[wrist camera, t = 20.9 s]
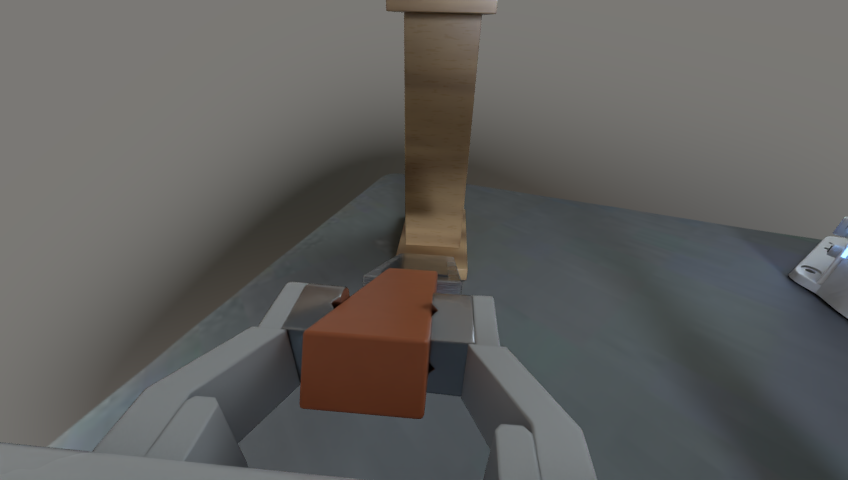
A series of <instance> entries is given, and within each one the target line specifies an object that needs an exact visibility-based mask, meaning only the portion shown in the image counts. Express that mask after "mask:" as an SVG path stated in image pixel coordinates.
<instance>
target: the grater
mask: <svg viewBox="0 0 848 480" xmlns="http://www.w3.org/2000/svg"><path fill="white" fill-rule="evenodd" d="M433 293H441V294H456V295H461V293H462V281H461V278H460V275H459V272H458V269H457V266H456V263H455V260H454V257H448V256H440V255H425V254H410V253H406V254H402V253H400V254H398V255H397V256H395V257H393V258H392V259H390V260H388V261H387V262H385V263H383V264H382V265H380V266H378V267H377V268H375V269H373V270H372V271H370V272H368V273H367V274H365V275H364V276H363V288H361V289H360V290H359V291H357V292H356V293H355V294H353V295H352V296H351V297H349V298H348V299H347V300H345V301H344V302H343V303H341V304H340V305H339V306H337V307H336V308H335V309H333V310H332V311H331V312H329V313H328V314H326V315H325V316H324V317H322V318H321V319H320V320H318V321H317V322H316V323H314V324H313V325H312V326H310V327H309V328H308V329H306V330H305V331H304V333H303V345H302V366H301V387H300V407H301V408H303V409H314V410H325V411H336V412H347V413H358V414H369V415H380V416H391V417H402V418H413V419H421V418H422V417H423V415H424V410H425V401H426V391H427V382H428V371H429V350H430V334H431V322H432V318H431V316H432V298H433Z"/></svg>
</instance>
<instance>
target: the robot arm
mask: <svg viewBox="0 0 848 480" xmlns="http://www.w3.org/2000/svg"><path fill="white" fill-rule="evenodd" d="M833 234H835V235H837V236H840V237H833V236H827V237H825V238H824V239H823V240H822V241H821V242H820V243H819V244H818V245H817V246H816V247H815V248H814V249H813V250H812V251H811V252H810V253H809V254H808V255H807V256H806V257H805V258H804V259H803V260H802V261H801V262H800V263H799V264H798V265H797V266H796V267H795V268H794V269H793V271H792V272H791V273H790V274H789V277H790V278H791V279H792V280H794V281H795V282H797V283H798V284H800V285H801V286H803V287H805V288H807V289H808V290H810V291H812V292H814V293H815V294H817V295H818V296H820V297H821V298H822V299H823V300H824V301H826V302H827V303H828V304H829V305H830V306H831V307H833V308H834V309H835V310H836V311H838V312H839V313H840V314H842V315H843V316H845V317H846V318H848V217H844V219H843V220H842V221H841V223H840V224H839V225H838V227H837V228H836V229H835V231H834V232H833ZM842 237H843V238H842ZM844 237H845V238H844ZM349 297H350V296H349V289H348V288H347V287H344V286H334V285H323V284H313V283H309V284H308V283H299V282H289V283H287V284H286V285H285V286H284V287H283V289H282V290H281V292H280V293H279V295H278V297H277V298H276V300H275V301H274V303H273V304H272V306H271V307H270V309H269V310H268V312H267V313H266V315H265V316H264V318H263V319H262V321H261V322H260V324H259V326H258V327H250V328H248V329H247V330H245V331H243V332H242V333H240V334H238V335H236V336H235V337H233V338H231V339H230V340H228V341H226V342H225V343H223V344H221V345H219V346H218V347H216V348H214V349H213V350H211V351H209V352H207V353H206V354H204V355H202V356H201V357H199V358H197V359H195V360H194V361H192V362H190V363H189V364H187V365H185V366H183V367H182V368H180V369H178V370H177V371H175V372H173V373H172V374H170V375H168V376H166V377H165V378H163V379H161V380H160V381H158V382H156V383H154V384H153V385H151V386H149V387H148V388H146V389H145V390H144V391H143V392H142V393H141V394H140V395H139V397H138V398H137V399H136V400H135V401H134V403H133V404H132V405H131V406H130V407H129V408H128V410H127V411H126V412H125V413H124V414H123V416H122V417H121V418H120V419H119V420H118V421H117V423H116V424H115V425H114V426H113V427H112V428H111V430H110V431H109V432H108V433H107V434H106V436H105V437H104V438H103V439H102V440H101V441H100V443H99V444H98V445H97V446H96V447H95V448H94V450H93V451H92V452H89V451H80V450H70V449H60V448H50V447H40V446H31V445H20V444H11V443H1V442H0V480H363V479H354V478H344V477H334V476H324V475H314V474H305V473H295V472H285V471H275V470H265V469H256V468H248V465H247V462H246V460H245V458H244V456H243V454H242V451H241V449H240V447H239V445H238V443H239V442H240V441H241V440H242V439H243V438H244V437H245V436H246V435H247V434H248V433H249V432H250V431H252V430H253V429H254V428H255V427H256V426H257V425H258V424H259V423H260V422H261V421H262V420H263V419H264V418H265V417H266V416H267V415H269V414H270V413H271V412H272V411H273V410H274V409H275V408H276V407H277V406H278V405H279V404H280V403H281V402H282V401H283V400H284V399H285V398H287V397H288V396H289V395H290V394H291V393H292V392H293V391H294V390H295V389H296V388H297V387H298V386H299V385H300V382H301V366H302V345H303V333H304V331H305V330H306V329H308V328H309V327H310V326H312V325H313V324H314V323H316V322H317V321H318V320H320V319H321V318H322V317H324V316H325V315H326V314H328V313H329V312H331V311H332V310H333V309H335V308H336V307H337V306H339V305H340V304H341V303H343V302H344V301H345V300H347V299H348V298H349ZM431 318H432V322H431V334H430V350H429V371H428V382H427V391H426V393H435V394H444V395H452V396H461V399H462V401H463V402H464V404H465V406H466V408H467V409H468V411H469V413H470V415H471V416H472V418H473V420H474V422H475V423H476V425H477V427H478V429H479V430H480V432H481V434H482V436H483V437H484V439H485V441H486V443H487V444H488V446H489V448H490V454H489V458H488V462H487V466H486V470H485V474H484V479H483V480H597V477H596V474H595V470H594V467H593V464H592V460H591V457H590V454H589V451H588V447H587V444H586V441H585V437H584V434H583V431H582V429H581V428H580V427H579V426H578V425H577V424H576V423H575V421H574V420H573V419H572V418H571V417H570V416H569V415H568V414H567V413H566V412H565V411H564V409H563V408H562V407H561V406H560V405H559V404H558V403H557V402H556V401H555V400H554V399H553V397H552V396H551V395H550V394H549V393H548V392H547V391H546V390H545V389H544V388H543V387H542V385H541V384H540V383H539V382H538V381H537V380H536V379H535V378H534V377H533V376H532V375H531V373H530V372H529V371H528V370H527V369H526V368H525V367H524V366H523V365H522V364H521V363H520V361H519V360H518V359H517V358H516V357H515V356H514V355H513V354H512V353H511V352H510V351H509V349H508V348H507V347H500V343H499V335H498V328H497V320H496V313H495V305H494V299H493V297H492V296H478V295H472V296H471V295H456V294H441V293H433V298H432V316H431Z"/></svg>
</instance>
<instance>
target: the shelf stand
mask: <svg viewBox="0 0 848 480" xmlns="http://www.w3.org/2000/svg"><path fill="white" fill-rule="evenodd" d="M497 3H498V0H386V10H387V11H393V12H404V47H405V49H404V51H405V52H404V54H405V223H404V227H403V230H402V234H401V238H400V242H399V246H398V250H397V253H396V256H397V255H398V254H400V253H402V254H406V253H410V254H425V255H440V256H448V257H454V260H455V263H456V266H457V269H458V272H459V275H460V278H461V280H466V279H467V270H468V268H467V242H466V215H465V209H464V200H465V189H466V178H467V168H468V157H469V146H470V136H471V125H472V114H473V104H474V93H475V82H476V72H477V61H478V51H479V40H480V29H481V19H482V15H489V14H496V12H497Z"/></svg>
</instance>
